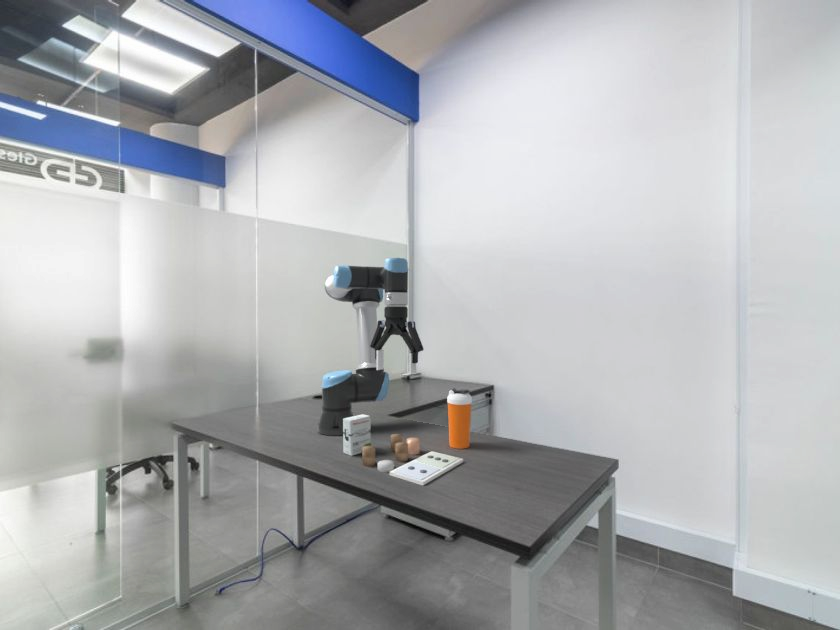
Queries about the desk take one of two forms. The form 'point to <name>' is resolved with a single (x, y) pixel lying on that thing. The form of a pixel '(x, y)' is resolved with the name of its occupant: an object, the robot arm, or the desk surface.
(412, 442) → the peach rounded capsule
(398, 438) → the brown rounded capsule
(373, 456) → the tan rounded capsule
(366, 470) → the desk surface
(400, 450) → the brown rounded capsule
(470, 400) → the shaker bottle
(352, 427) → the ink box
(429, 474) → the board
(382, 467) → the light gray rounded ball
